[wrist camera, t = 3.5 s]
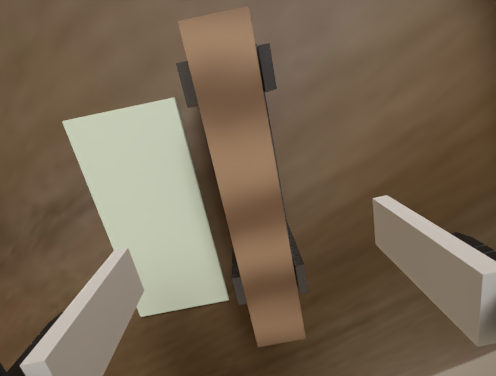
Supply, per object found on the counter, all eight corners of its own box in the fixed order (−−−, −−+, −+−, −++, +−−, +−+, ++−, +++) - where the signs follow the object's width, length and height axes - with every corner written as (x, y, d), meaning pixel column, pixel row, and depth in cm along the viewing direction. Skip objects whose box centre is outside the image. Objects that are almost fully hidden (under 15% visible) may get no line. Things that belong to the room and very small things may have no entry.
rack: (193, 58, 30) (165, 32, 18) (255, 45, 30) (267, 9, 18) (240, 254, 37) (240, 322, 26) (290, 245, 37) (313, 308, 26)
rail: (193, 41, 20) (177, 21, 15) (245, 30, 20) (248, 5, 15) (254, 300, 28) (257, 347, 22) (292, 293, 28) (305, 338, 22)
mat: (65, 120, 31) (62, 121, 31) (175, 97, 31) (174, 97, 30) (142, 313, 40) (140, 316, 39) (229, 297, 39) (228, 300, 39)
